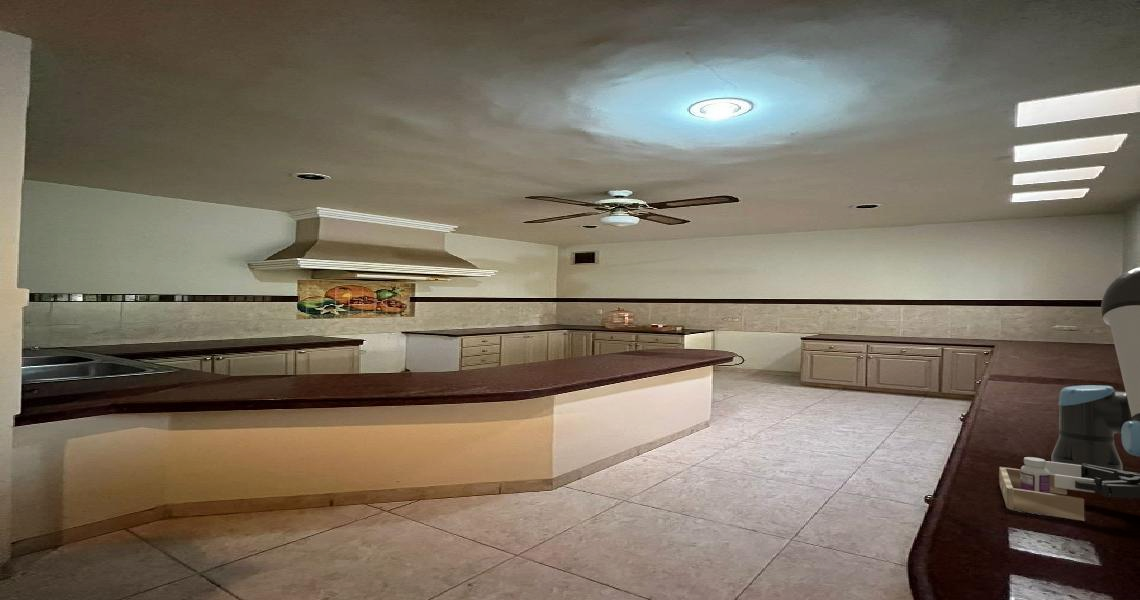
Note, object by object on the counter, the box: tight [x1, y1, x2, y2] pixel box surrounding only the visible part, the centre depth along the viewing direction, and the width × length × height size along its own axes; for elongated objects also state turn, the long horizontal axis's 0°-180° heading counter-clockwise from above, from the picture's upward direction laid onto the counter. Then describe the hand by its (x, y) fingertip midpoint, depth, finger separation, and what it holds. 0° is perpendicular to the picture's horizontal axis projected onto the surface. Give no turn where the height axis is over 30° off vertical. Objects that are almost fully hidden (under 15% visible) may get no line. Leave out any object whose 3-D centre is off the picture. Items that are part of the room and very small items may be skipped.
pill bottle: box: [1020, 456, 1051, 494], centre depth 134 cm, size 5×5×10 cm
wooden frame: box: [998, 466, 1085, 522], centre depth 133 cm, size 22×13×4 cm, turn 146°
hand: (1049, 473), depth 132 cm, fingers open, 13 cm apart
